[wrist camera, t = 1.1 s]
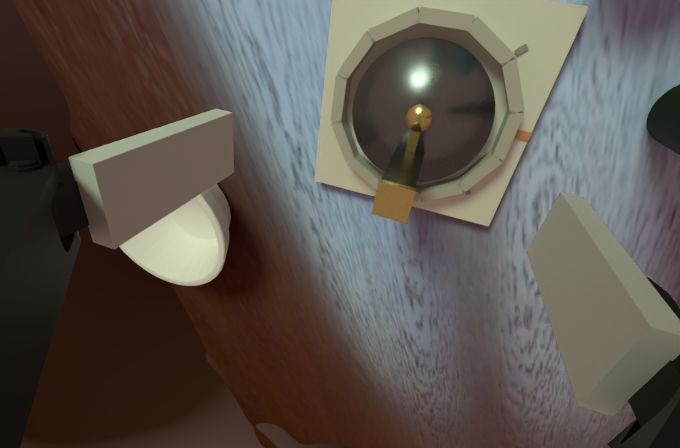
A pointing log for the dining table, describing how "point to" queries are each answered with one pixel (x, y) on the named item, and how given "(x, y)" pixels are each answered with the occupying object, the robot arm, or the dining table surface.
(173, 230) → the bowl
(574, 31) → the dial board
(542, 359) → the dining table surface
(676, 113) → the wine bottle
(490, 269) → the dining table surface
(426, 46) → the dial
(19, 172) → the robot arm
